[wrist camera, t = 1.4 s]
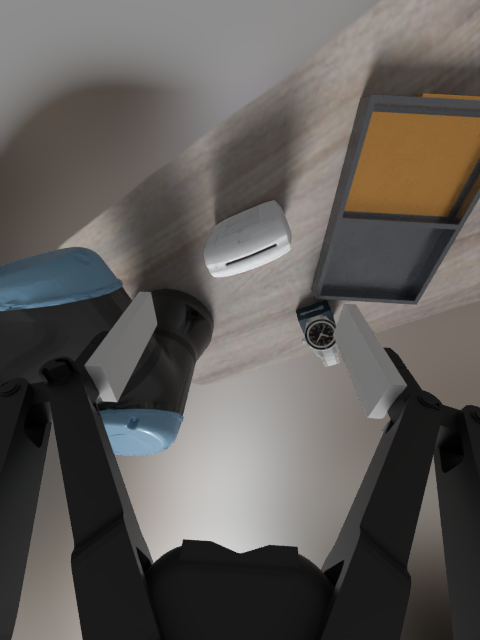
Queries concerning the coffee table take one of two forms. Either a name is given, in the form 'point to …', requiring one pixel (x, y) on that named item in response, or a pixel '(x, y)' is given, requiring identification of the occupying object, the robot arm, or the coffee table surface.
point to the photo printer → (247, 240)
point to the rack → (400, 197)
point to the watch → (319, 331)
